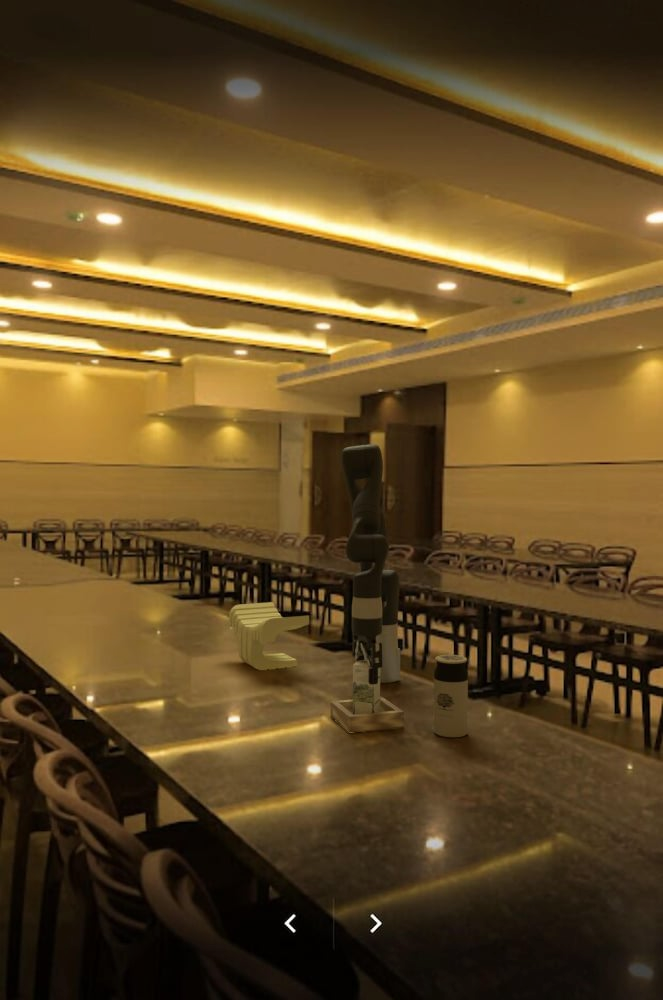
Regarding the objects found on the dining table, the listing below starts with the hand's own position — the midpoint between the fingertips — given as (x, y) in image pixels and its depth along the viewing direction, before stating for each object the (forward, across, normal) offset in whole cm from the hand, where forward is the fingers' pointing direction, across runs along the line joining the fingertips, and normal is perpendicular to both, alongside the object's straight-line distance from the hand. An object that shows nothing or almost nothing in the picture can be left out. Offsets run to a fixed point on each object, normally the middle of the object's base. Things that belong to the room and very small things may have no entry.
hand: (366, 679), depth 197 cm
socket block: (+11, 0, 0) cm, 11 cm away
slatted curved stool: (+11, +68, +8) cm, 69 cm away
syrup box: (+10, 0, 0) cm, 10 cm away
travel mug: (+11, -14, -16) cm, 24 cm away
